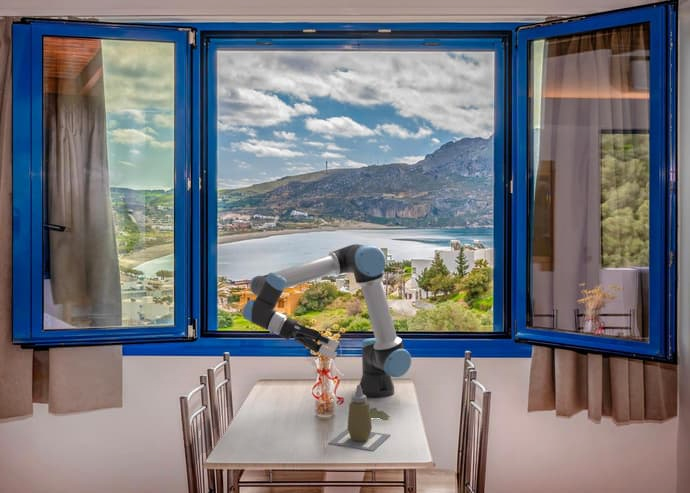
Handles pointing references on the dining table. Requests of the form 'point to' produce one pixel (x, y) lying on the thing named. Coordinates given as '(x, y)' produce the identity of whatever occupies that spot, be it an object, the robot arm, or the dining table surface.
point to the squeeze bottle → (359, 417)
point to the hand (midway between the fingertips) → (336, 351)
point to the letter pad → (369, 444)
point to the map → (378, 414)
